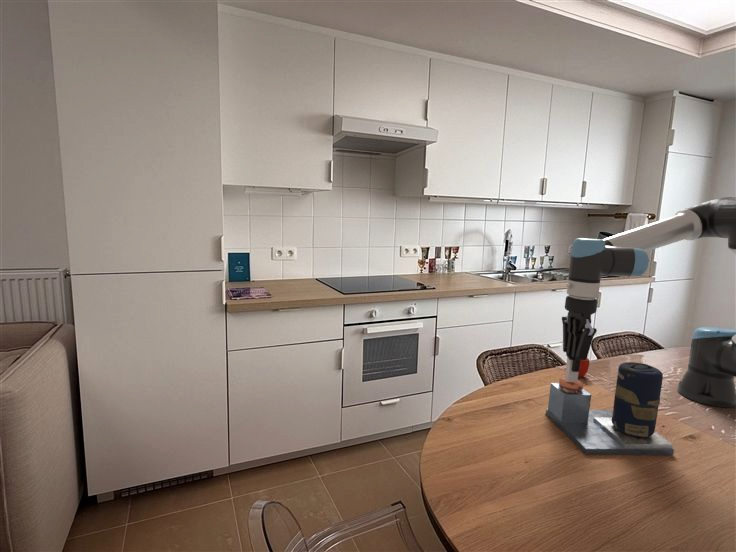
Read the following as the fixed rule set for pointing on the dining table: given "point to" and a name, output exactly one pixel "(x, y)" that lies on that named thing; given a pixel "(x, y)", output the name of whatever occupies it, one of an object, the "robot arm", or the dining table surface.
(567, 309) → the robot arm
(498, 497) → the dining table surface
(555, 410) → the grey l-shaped stand
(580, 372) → the apple
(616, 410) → the canister
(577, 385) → the pin
